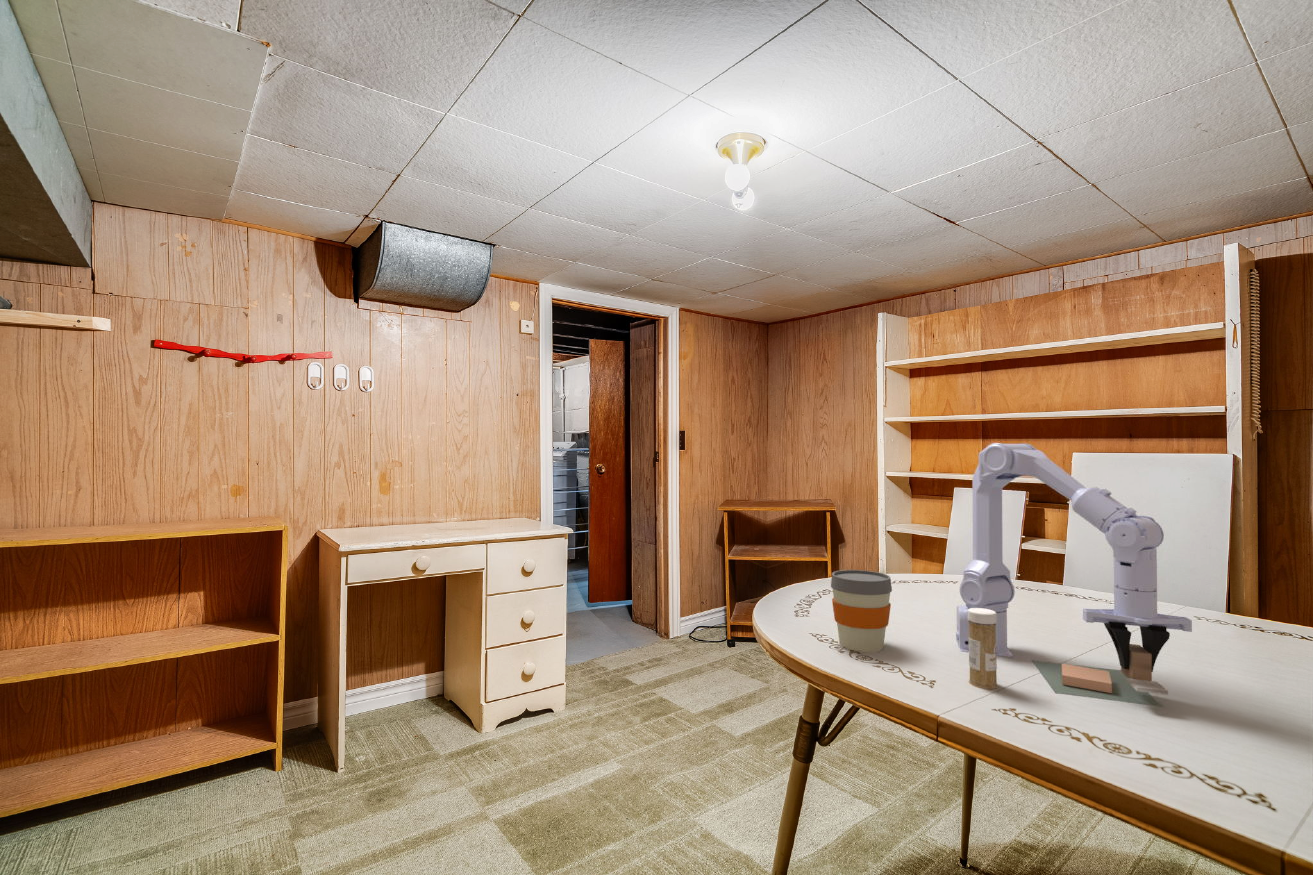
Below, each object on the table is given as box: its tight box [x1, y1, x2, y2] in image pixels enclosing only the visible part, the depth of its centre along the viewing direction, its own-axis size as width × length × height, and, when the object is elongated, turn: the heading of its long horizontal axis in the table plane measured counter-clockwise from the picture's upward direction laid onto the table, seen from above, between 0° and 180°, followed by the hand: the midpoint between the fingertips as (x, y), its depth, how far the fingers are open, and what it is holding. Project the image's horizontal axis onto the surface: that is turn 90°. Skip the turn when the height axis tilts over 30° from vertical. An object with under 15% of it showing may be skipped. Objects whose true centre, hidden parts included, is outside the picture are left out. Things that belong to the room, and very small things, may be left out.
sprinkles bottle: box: [968, 608, 998, 690], centre depth 106 cm, size 5×5×14 cm
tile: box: [1061, 663, 1112, 693], centre depth 106 cm, size 7×2×7 cm
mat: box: [1031, 660, 1164, 708], centre depth 107 cm, size 15×17×1 cm
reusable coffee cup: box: [830, 569, 893, 653], centre depth 128 cm, size 13×13×15 cm
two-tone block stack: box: [1120, 643, 1169, 696], centre depth 98 cm, size 9×4×5 cm, turn 159°
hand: (1136, 668), depth 100 cm, fingers closed on two-tone block stack, 3 cm apart
